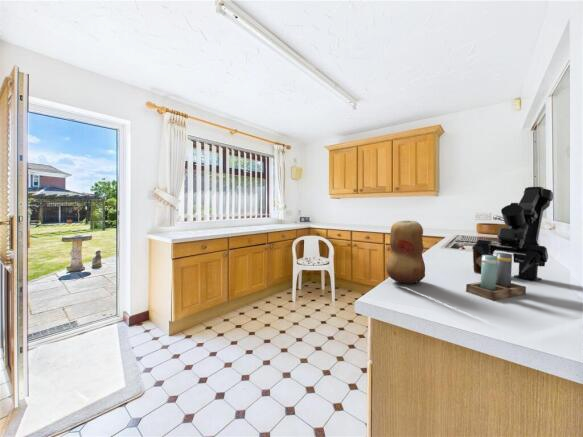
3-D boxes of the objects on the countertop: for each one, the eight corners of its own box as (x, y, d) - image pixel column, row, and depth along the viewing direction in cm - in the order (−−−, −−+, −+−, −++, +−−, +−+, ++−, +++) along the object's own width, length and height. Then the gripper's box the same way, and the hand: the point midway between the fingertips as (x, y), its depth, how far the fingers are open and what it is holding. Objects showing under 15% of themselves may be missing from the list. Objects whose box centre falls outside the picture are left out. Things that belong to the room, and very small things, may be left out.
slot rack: (496, 288, 92) (497, 279, 91) (526, 297, 83) (527, 286, 83) (464, 294, 86) (465, 284, 86) (493, 304, 77) (493, 293, 77)
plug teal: (485, 291, 86) (487, 254, 85) (498, 295, 82) (500, 257, 81) (477, 292, 84) (478, 255, 84) (490, 297, 81) (492, 257, 80)
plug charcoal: (495, 288, 89) (496, 252, 88) (510, 290, 86) (512, 253, 85) (495, 291, 86) (496, 254, 85) (511, 294, 83) (512, 256, 82)
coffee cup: (499, 275, 107) (501, 246, 106) (480, 275, 108) (481, 246, 107) (484, 270, 116) (485, 242, 115) (466, 270, 116) (467, 242, 115)
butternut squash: (383, 286, 94) (385, 221, 92) (387, 276, 106) (389, 218, 104) (425, 292, 87) (427, 222, 86) (424, 281, 99) (426, 220, 98)
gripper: (478, 218, 94) (465, 250, 89) (548, 221, 79) (537, 260, 73) (485, 237, 99) (473, 268, 94) (552, 243, 84) (542, 281, 78)
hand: (502, 269), depth 85 cm, fingers open, 9 cm apart
